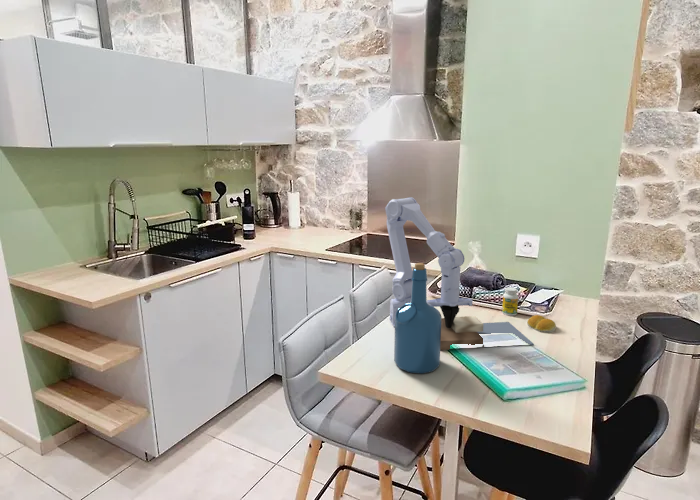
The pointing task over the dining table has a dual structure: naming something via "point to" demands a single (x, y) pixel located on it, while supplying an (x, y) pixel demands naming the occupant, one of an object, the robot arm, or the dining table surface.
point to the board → (457, 337)
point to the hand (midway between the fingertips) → (448, 326)
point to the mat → (503, 330)
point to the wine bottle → (418, 329)
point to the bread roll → (541, 323)
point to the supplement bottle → (510, 302)
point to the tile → (467, 324)
